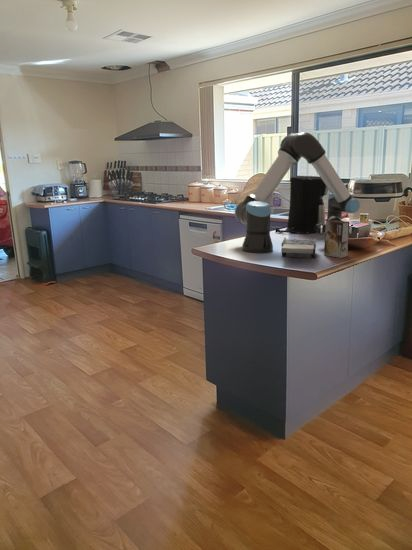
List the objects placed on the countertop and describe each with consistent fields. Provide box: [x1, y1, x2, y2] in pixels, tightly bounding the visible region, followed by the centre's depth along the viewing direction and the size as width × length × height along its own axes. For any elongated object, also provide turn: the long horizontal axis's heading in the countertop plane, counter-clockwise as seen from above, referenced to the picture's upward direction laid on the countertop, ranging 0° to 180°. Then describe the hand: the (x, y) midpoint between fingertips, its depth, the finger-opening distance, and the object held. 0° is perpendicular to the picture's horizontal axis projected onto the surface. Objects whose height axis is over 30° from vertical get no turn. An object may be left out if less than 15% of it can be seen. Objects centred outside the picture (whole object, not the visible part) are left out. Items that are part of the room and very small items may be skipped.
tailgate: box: [280, 244, 314, 254], centre depth 189 cm, size 13×2×13 cm
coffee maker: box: [275, 175, 329, 234], centre depth 263 cm, size 23×32×34 cm
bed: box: [280, 237, 317, 259], centre depth 202 cm, size 15×15×7 cm
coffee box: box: [323, 220, 350, 259], centre depth 199 cm, size 9×6×16 cm
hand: (336, 230), depth 209 cm, fingers open, 13 cm apart
